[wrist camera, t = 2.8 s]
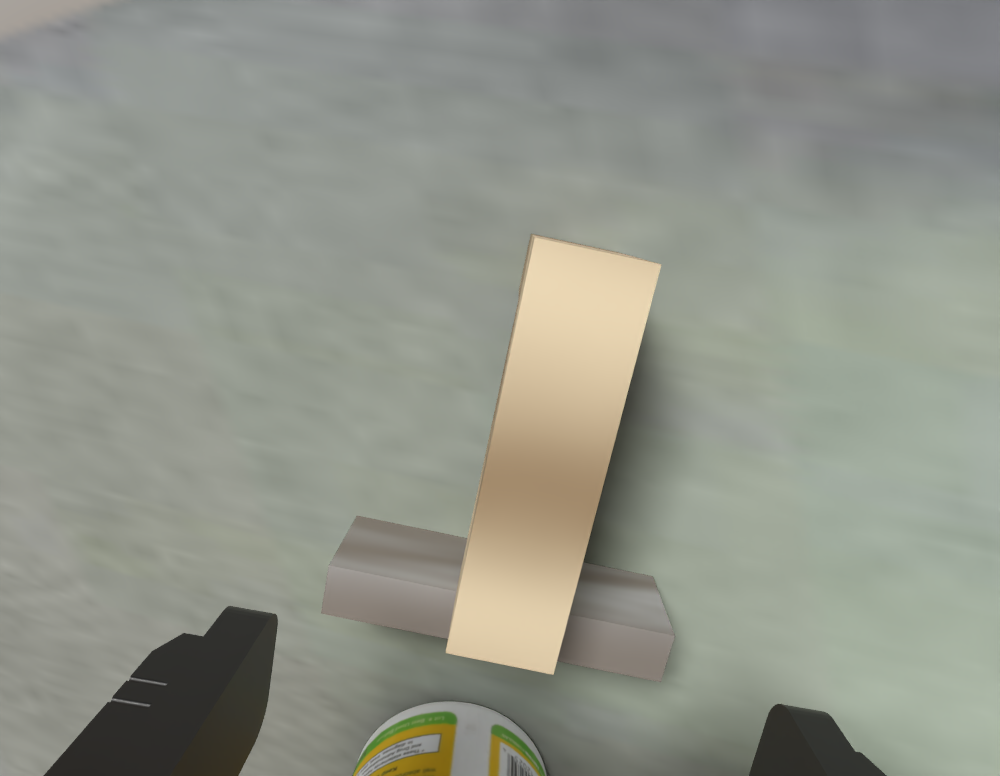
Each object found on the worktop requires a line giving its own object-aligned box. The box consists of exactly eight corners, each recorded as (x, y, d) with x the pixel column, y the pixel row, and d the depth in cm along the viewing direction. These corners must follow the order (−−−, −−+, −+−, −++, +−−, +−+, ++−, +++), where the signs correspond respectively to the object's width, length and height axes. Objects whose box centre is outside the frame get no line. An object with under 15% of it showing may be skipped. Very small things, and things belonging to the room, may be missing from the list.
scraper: (409, 207, 18) (359, 200, 12) (739, 278, 18) (834, 301, 12) (350, 557, 20) (287, 677, 15) (640, 616, 20) (683, 756, 15)
